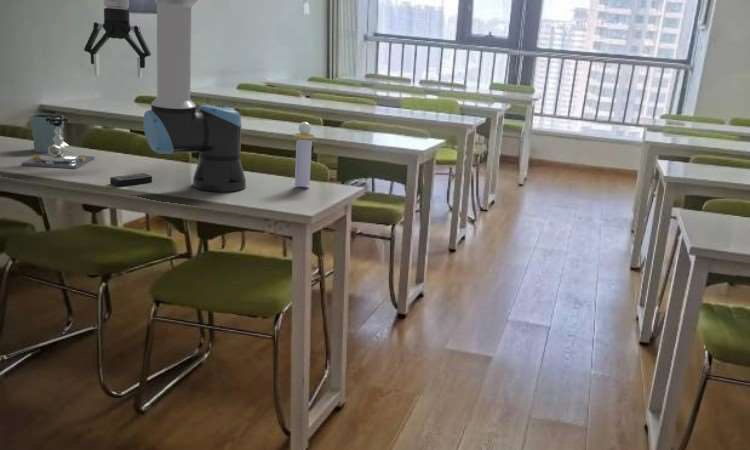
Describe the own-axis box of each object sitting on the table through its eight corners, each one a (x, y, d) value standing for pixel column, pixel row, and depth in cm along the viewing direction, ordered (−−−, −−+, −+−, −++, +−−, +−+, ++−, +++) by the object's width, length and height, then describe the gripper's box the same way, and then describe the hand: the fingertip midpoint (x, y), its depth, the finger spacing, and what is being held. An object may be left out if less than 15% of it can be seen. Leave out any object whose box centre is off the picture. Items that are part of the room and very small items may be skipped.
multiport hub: (152, 183, 191) (152, 175, 190) (118, 188, 182) (118, 180, 182) (143, 180, 193) (143, 172, 193) (109, 185, 185) (109, 177, 184)
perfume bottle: (303, 190, 195) (306, 123, 190) (288, 187, 198) (291, 121, 193) (315, 187, 200) (318, 122, 194) (300, 184, 203) (303, 120, 197)
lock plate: (76, 168, 199) (75, 162, 199) (21, 165, 198) (21, 158, 197) (94, 158, 214) (94, 152, 214) (44, 155, 213) (43, 149, 213)
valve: (74, 154, 209) (72, 117, 205) (64, 158, 202) (62, 120, 199) (54, 153, 209) (51, 115, 205) (43, 156, 202) (40, 118, 199)
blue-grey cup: (25, 150, 218) (22, 114, 215) (48, 146, 228) (46, 112, 224) (50, 154, 216) (48, 118, 212) (72, 150, 225) (70, 115, 222)
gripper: (71, 4, 202) (74, 74, 208) (153, 11, 204) (154, 80, 210) (80, 5, 209) (83, 72, 215) (159, 11, 211) (160, 78, 217)
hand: (118, 76), depth 212 cm, fingers open, 13 cm apart
